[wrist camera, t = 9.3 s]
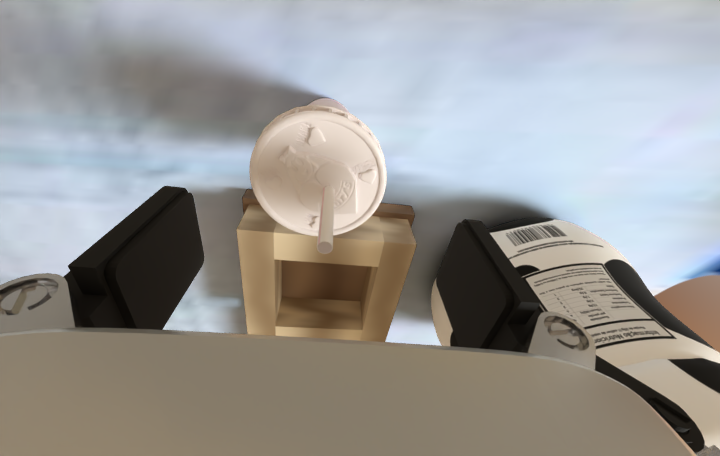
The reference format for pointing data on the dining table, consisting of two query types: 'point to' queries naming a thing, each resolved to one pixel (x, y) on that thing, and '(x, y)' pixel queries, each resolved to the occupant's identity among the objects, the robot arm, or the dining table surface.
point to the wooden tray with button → (324, 275)
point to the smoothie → (318, 171)
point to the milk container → (609, 313)
